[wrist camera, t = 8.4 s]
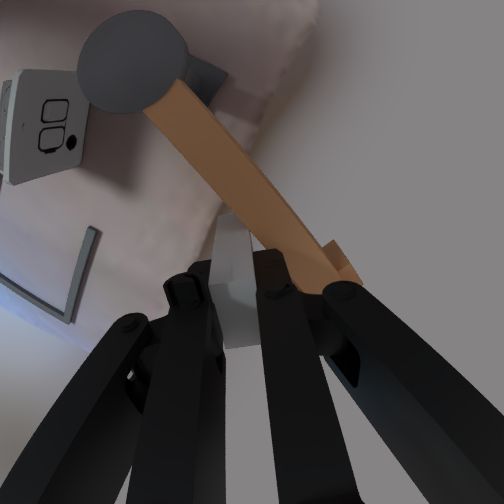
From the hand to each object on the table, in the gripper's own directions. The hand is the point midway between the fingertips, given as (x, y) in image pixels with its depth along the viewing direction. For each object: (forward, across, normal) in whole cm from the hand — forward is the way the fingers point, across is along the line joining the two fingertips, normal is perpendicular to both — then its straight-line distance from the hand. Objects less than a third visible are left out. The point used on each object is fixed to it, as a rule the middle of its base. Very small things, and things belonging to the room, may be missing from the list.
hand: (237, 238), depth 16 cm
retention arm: (+1, 0, +4) cm, 4 cm away
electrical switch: (+14, -16, +10) cm, 23 cm away
